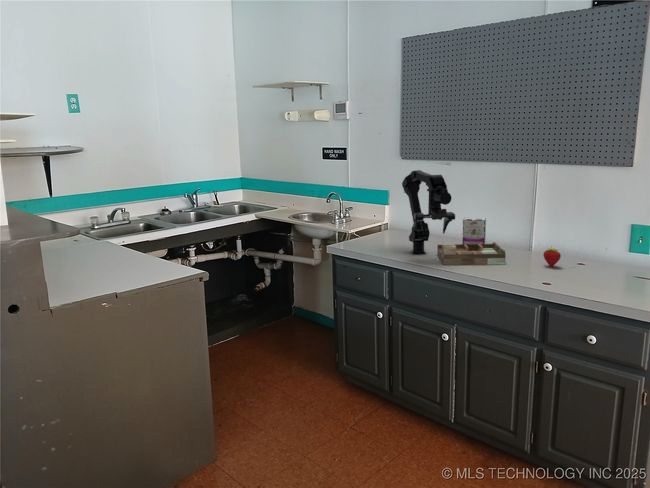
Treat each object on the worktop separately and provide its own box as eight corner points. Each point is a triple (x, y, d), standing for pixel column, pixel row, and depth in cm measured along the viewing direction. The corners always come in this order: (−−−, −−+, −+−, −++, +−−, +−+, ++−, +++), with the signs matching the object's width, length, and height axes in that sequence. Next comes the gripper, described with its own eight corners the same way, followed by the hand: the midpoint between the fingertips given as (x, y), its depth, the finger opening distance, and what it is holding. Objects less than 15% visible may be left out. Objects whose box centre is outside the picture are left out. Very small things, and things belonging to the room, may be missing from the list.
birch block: (442, 252, 247) (442, 244, 246) (453, 251, 247) (453, 243, 246) (444, 254, 242) (444, 246, 241) (455, 254, 242) (456, 246, 241)
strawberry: (555, 269, 223) (556, 247, 221) (539, 266, 229) (541, 244, 227) (562, 267, 226) (564, 245, 224) (547, 263, 232) (548, 242, 230)
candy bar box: (485, 248, 263) (486, 218, 259) (484, 251, 258) (485, 219, 254) (463, 247, 267) (464, 217, 263) (461, 249, 262) (462, 218, 258)
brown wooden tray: (437, 254, 255) (437, 242, 254) (493, 253, 253) (494, 241, 252) (443, 265, 236) (444, 252, 234) (505, 264, 234) (505, 251, 232)
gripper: (417, 204, 231) (416, 238, 235) (458, 203, 230) (457, 237, 234) (413, 201, 242) (413, 232, 245) (453, 200, 241) (452, 232, 245)
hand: (433, 233), depth 242 cm, fingers open, 9 cm apart
